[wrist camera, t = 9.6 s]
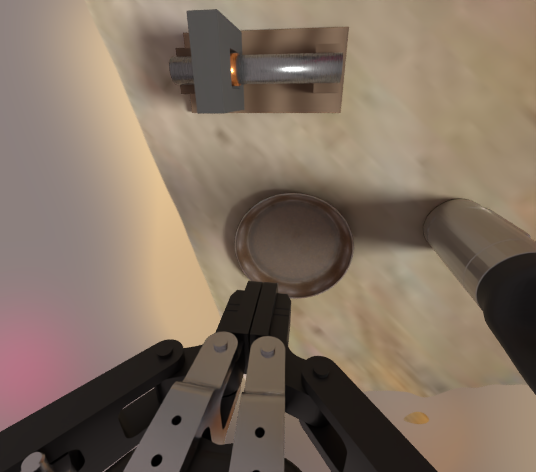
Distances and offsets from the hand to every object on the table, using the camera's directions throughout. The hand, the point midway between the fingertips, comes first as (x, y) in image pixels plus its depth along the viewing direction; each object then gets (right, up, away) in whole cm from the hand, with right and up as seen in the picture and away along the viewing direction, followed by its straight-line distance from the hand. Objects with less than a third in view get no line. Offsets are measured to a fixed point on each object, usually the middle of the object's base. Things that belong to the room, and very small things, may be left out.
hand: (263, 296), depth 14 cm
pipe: (-1, +24, +21) cm, 32 cm away
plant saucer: (+5, +2, +38) cm, 39 cm away
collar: (-5, +25, +24) cm, 35 cm away
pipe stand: (0, +26, +27) cm, 37 cm away
